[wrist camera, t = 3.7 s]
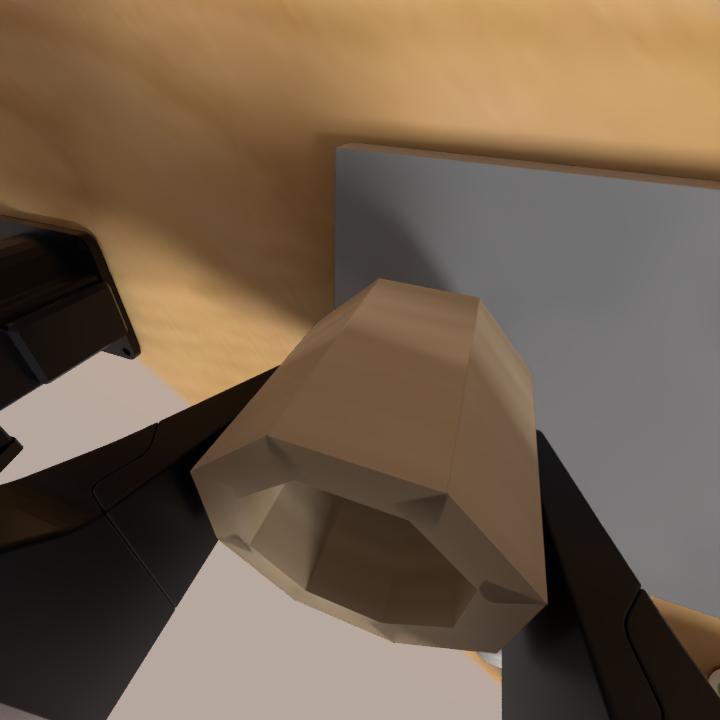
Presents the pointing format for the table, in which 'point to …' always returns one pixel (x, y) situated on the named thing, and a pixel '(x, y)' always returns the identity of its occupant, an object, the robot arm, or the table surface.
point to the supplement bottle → (715, 681)
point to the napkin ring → (392, 473)
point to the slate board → (575, 323)
